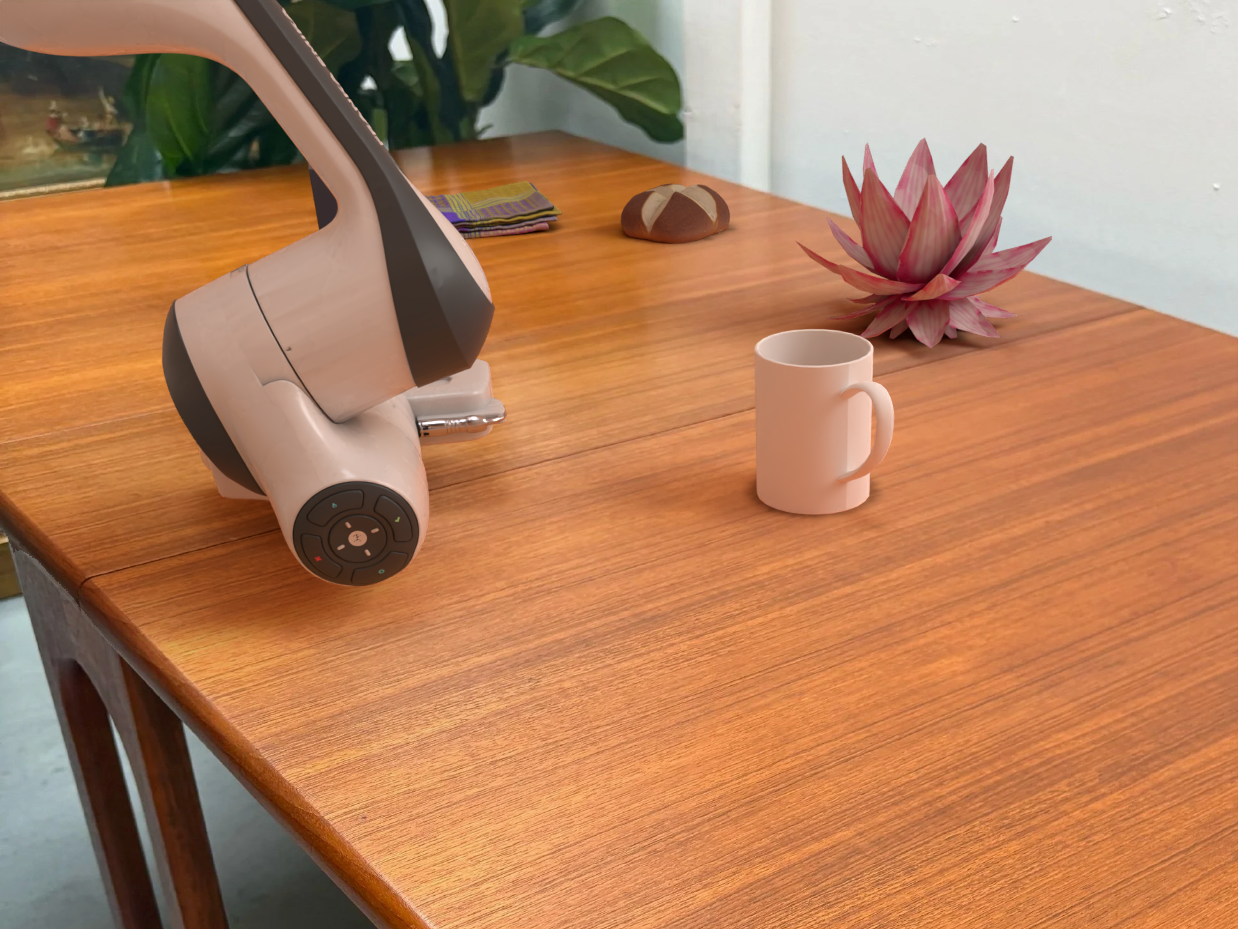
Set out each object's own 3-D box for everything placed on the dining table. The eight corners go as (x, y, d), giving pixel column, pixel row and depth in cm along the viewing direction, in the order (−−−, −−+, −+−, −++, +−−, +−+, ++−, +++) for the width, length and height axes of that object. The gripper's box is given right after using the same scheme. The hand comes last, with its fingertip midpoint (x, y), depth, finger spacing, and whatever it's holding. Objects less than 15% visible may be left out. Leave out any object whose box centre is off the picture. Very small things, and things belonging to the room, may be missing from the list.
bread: (746, 229, 166) (745, 182, 164) (680, 252, 159) (678, 202, 156) (668, 215, 172) (666, 169, 169) (601, 236, 164) (598, 188, 161)
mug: (735, 490, 106) (731, 342, 100) (826, 466, 110) (828, 321, 104) (835, 551, 98) (837, 393, 92) (930, 523, 101) (938, 369, 96)
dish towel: (328, 214, 173) (323, 188, 171) (539, 198, 179) (537, 174, 177) (336, 252, 159) (332, 225, 157) (565, 234, 165) (563, 208, 163)
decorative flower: (760, 318, 139) (757, 144, 131) (953, 287, 148) (962, 121, 139) (880, 386, 124) (885, 194, 115) (1088, 347, 132) (1107, 164, 124)
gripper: (505, 376, 98) (482, 315, 109) (172, 405, 93) (184, 338, 104) (515, 468, 101) (492, 400, 112) (195, 501, 97) (204, 426, 108)
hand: (341, 370), depth 108 cm, fingers open, 8 cm apart
